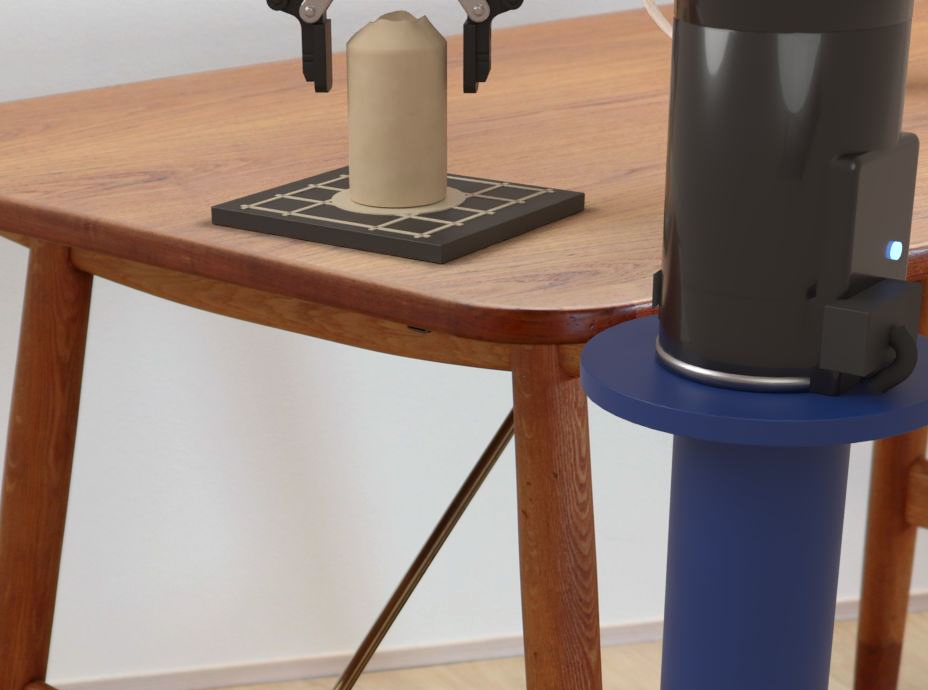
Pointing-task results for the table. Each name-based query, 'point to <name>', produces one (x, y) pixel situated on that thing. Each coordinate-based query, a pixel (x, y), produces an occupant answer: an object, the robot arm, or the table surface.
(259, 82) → the table surface
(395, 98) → the candle
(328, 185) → the board
